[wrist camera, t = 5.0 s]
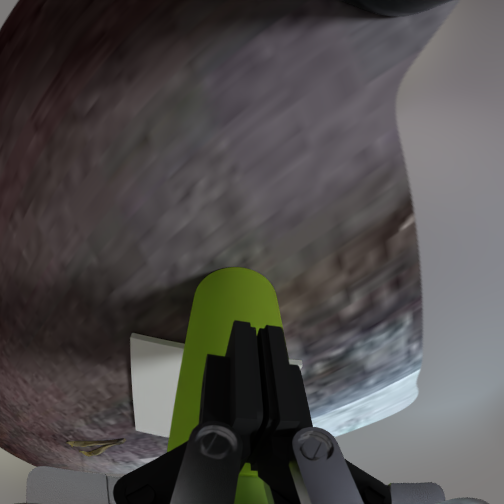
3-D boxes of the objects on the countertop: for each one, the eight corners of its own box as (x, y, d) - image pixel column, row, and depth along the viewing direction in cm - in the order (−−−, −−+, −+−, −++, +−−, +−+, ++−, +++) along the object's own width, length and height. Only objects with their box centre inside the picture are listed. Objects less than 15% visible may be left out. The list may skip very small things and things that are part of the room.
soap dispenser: (223, 239, 19) (203, 646, 1) (293, 302, 22) (362, 606, 4) (166, 294, 21) (94, 602, 3) (235, 346, 23) (242, 614, 5)
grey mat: (257, 444, 31) (258, 448, 30) (136, 426, 29) (136, 430, 28) (301, 360, 24) (302, 365, 24) (132, 332, 23) (130, 337, 22)
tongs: (134, 438, 31) (131, 451, 30) (88, 449, 35) (85, 459, 33) (108, 422, 30) (104, 435, 28) (67, 435, 33) (63, 445, 31)
